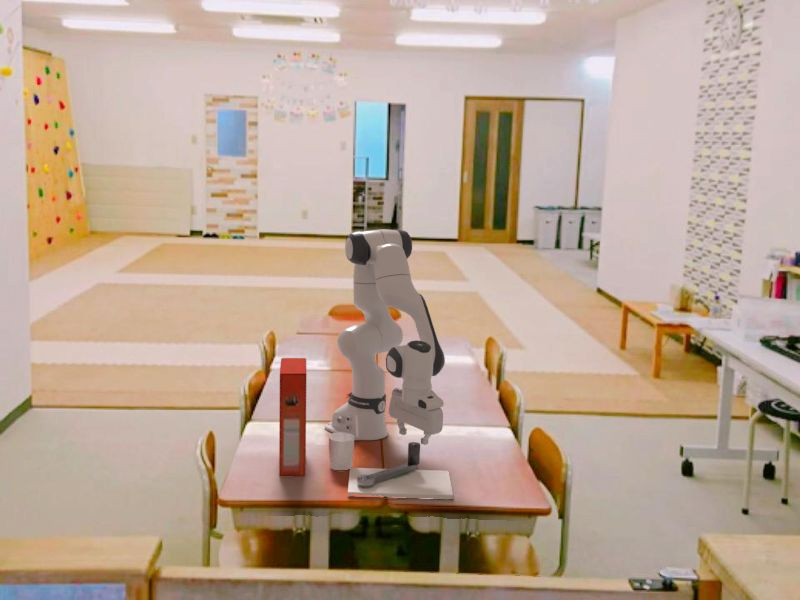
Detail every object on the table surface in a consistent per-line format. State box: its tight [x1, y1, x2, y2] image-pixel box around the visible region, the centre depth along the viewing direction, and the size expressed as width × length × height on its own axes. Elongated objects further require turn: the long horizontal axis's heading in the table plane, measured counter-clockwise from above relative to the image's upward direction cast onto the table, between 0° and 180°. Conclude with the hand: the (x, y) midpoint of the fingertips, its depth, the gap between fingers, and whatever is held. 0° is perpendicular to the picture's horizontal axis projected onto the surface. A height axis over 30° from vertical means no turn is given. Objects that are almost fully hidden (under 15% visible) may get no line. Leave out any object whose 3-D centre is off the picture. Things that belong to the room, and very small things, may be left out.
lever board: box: [347, 467, 454, 500], centre depth 256 cm, size 30×18×2 cm, turn 91°
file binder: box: [278, 357, 307, 477], centre depth 265 cm, size 8×17×32 cm, turn 6°
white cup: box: [328, 432, 355, 471], centre depth 267 cm, size 8×8×10 cm
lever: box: [357, 441, 421, 487], centre depth 257 cm, size 23×5×8 cm, turn 133°
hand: (413, 438), depth 263 cm, fingers open, 8 cm apart
